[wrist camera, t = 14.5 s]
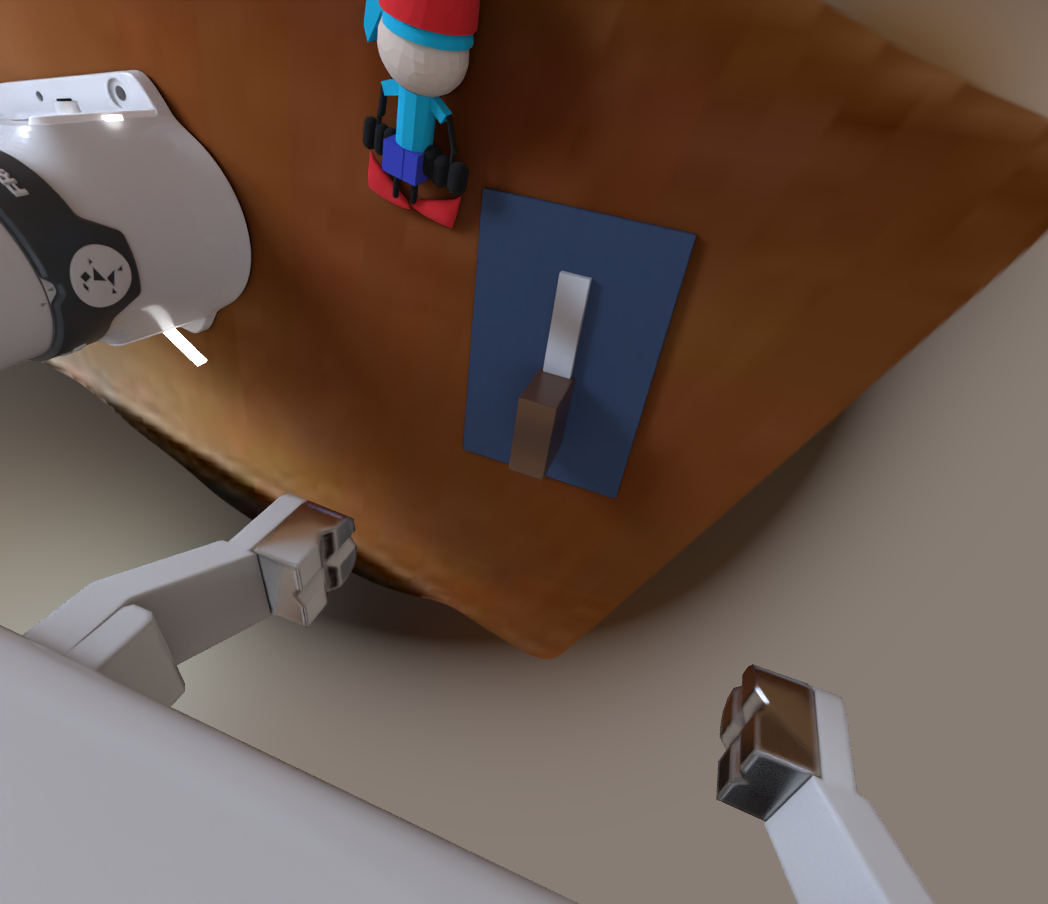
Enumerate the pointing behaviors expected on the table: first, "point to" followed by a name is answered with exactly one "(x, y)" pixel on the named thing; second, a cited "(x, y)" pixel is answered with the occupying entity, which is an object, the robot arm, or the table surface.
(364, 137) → the toy figure
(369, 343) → the table surface
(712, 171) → the table surface
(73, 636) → the robot arm
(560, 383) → the letter opener
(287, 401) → the table surface
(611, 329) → the desk mat
